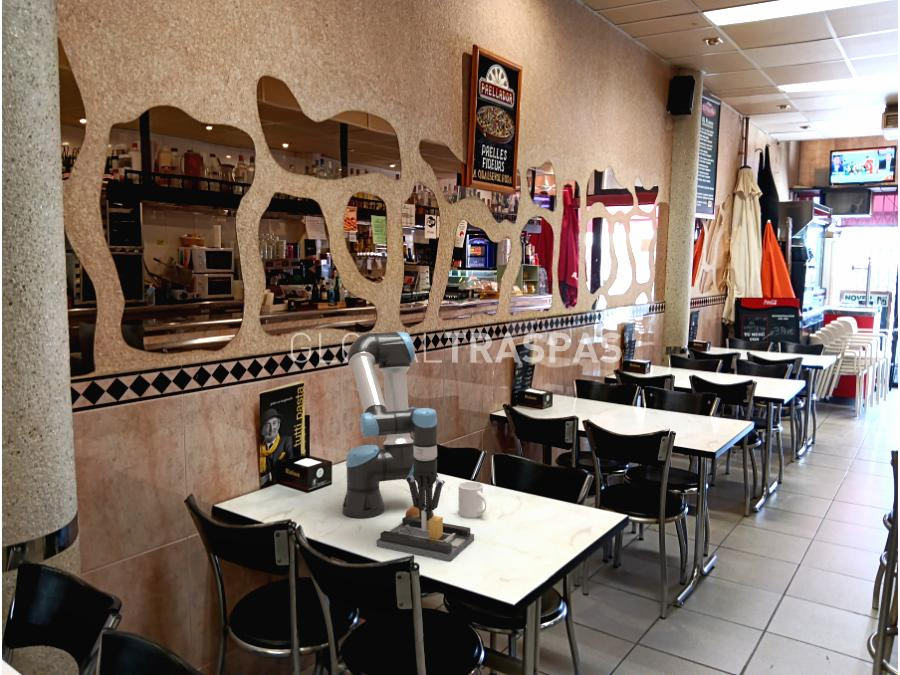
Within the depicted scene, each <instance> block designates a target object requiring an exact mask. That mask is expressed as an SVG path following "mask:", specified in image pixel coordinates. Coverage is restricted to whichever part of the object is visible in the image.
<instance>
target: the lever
mask: <svg viewBox="0 0 900 675" xmlns="http://www.w3.org/2000/svg"><path fill="white" fill-rule="evenodd" d="M443 521H444V520H443V516H438V515H434V516H433V517H432V518H430V519H429V538H431V539H436V540H440V539H442V538H443V523H444V522H443Z"/></svg>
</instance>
